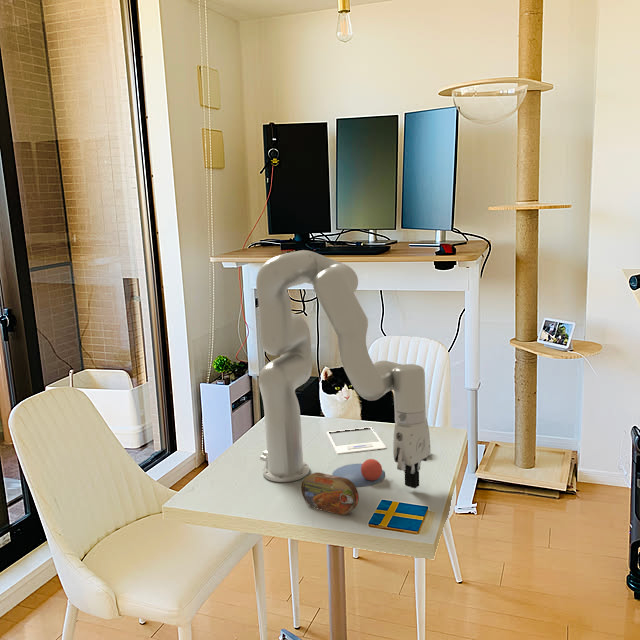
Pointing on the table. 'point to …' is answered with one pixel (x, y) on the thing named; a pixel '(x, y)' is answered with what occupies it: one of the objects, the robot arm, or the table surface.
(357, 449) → the photo frame
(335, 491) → the tin
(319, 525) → the table surface
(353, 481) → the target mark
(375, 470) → the ball
